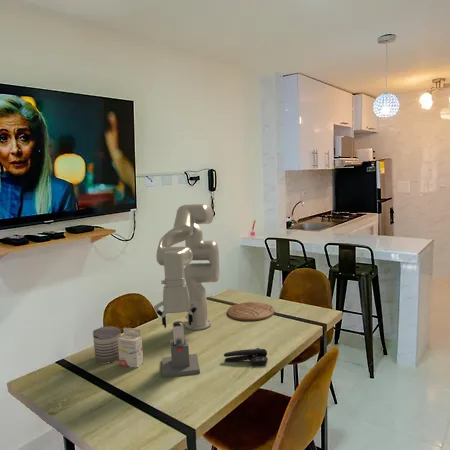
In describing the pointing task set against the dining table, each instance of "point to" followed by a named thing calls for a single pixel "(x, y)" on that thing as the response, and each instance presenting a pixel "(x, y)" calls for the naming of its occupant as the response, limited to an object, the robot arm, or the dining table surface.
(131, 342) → the ink cartridge box
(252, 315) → the trivet
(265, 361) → the can opener
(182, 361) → the stand
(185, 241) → the robot arm
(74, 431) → the dining table surface
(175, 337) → the column
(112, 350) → the can
